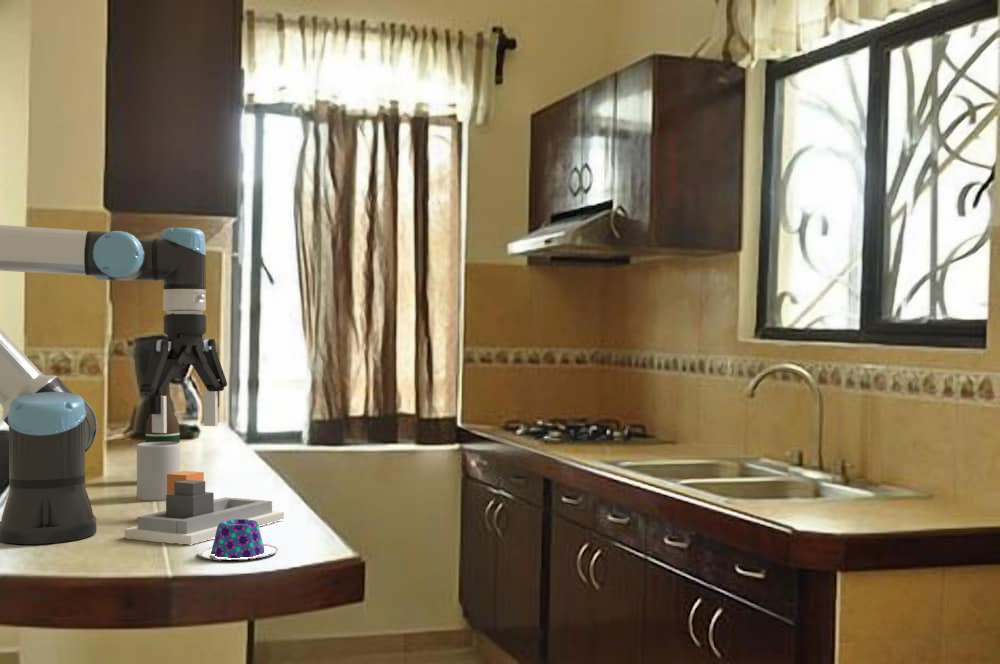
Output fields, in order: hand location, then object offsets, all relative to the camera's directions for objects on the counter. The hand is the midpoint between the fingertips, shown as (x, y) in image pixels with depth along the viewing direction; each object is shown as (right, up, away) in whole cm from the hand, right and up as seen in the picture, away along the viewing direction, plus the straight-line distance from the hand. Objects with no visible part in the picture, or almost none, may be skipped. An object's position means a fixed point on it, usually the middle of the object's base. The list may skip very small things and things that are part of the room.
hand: (185, 429), depth 198 cm
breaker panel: (+7, -16, -12) cm, 21 cm away
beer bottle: (-18, -16, +44) cm, 50 cm away
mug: (-12, -16, +24) cm, 31 cm away
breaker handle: (+5, -14, -16) cm, 22 cm away
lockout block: (0, -16, 0) cm, 16 cm away
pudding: (+17, -17, -33) cm, 41 cm away
